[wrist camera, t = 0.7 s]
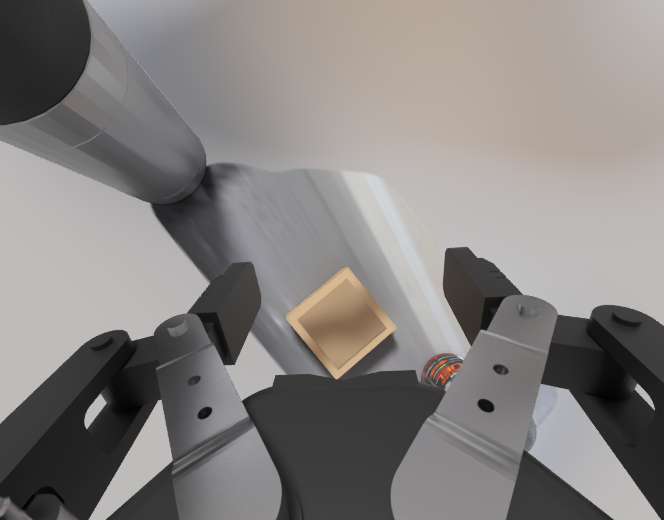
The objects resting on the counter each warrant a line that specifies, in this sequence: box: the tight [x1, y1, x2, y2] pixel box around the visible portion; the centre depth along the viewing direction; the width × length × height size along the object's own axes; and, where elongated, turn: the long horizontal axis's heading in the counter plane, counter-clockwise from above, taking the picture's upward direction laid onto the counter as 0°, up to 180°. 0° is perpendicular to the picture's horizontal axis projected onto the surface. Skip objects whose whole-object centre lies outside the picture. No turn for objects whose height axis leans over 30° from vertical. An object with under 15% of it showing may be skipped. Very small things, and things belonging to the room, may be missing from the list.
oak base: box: [286, 267, 396, 379], centre depth 31 cm, size 8×8×3 cm
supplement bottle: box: [421, 353, 536, 452], centre depth 28 cm, size 6×6×11 cm
